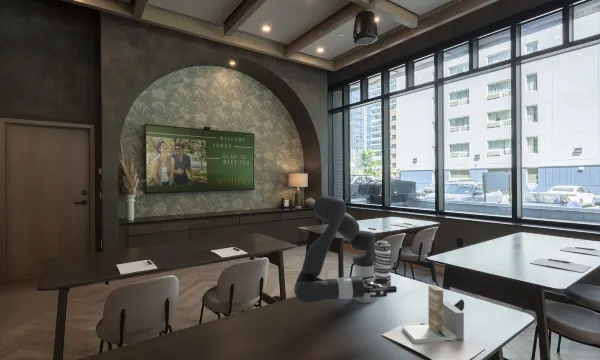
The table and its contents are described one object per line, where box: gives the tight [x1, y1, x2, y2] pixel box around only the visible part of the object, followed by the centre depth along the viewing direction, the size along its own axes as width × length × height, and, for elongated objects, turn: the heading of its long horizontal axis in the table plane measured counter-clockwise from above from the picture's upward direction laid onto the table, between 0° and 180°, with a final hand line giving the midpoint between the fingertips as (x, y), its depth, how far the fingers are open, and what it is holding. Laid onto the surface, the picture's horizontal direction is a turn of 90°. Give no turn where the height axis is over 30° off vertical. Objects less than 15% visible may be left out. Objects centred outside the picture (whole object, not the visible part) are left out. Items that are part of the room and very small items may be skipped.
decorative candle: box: [374, 240, 392, 289], centre depth 170 cm, size 9×9×25 cm
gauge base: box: [401, 301, 465, 344], centre depth 121 cm, size 19×10×10 cm, turn 97°
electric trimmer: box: [453, 298, 465, 311], centre depth 142 cm, size 4×16×3 cm, turn 138°
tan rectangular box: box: [427, 284, 445, 337], centre depth 119 cm, size 3×8×16 cm, turn 7°
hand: (391, 284), depth 118 cm, fingers open, 8 cm apart
